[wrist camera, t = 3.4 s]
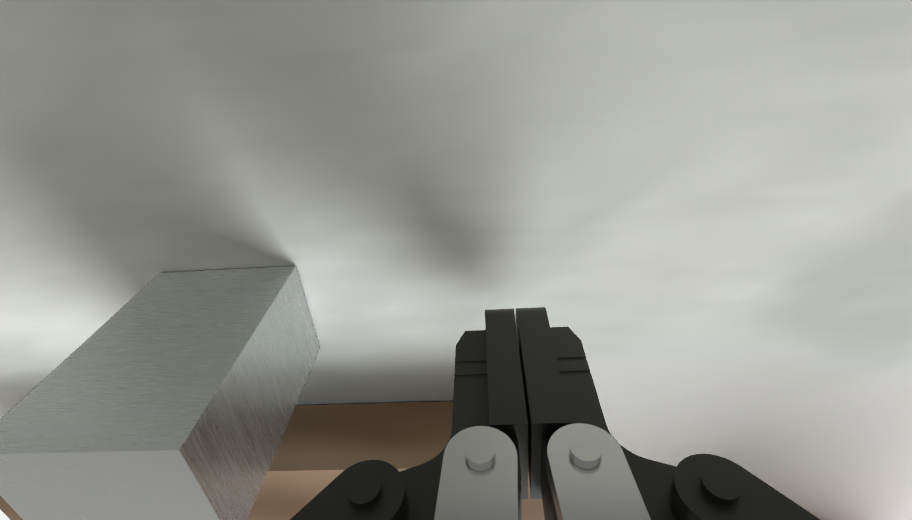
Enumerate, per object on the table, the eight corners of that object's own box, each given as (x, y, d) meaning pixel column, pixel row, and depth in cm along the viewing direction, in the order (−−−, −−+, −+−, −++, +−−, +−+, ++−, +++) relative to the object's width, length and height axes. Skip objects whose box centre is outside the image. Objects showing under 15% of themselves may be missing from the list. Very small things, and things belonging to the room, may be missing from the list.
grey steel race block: (295, 266, 13) (178, 449, 8) (320, 347, 15) (235, 547, 9) (159, 272, 13) (-39, 454, 8) (197, 352, 15) (50, 548, 10)
